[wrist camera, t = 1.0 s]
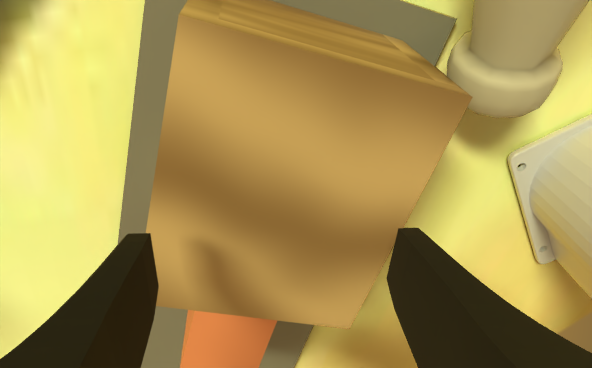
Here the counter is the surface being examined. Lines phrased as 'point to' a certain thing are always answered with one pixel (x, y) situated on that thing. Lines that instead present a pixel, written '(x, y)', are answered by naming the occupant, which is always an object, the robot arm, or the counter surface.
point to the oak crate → (289, 160)
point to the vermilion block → (224, 340)
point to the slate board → (148, 123)
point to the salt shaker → (512, 54)
